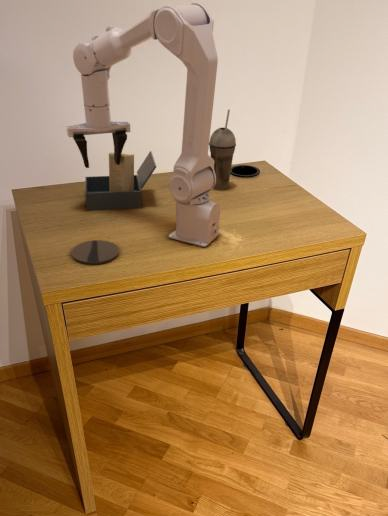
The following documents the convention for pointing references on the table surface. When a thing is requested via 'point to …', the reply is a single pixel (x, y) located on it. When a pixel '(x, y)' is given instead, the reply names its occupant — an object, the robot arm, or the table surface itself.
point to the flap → (146, 169)
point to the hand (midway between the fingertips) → (102, 165)
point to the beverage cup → (222, 154)
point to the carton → (110, 195)
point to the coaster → (95, 252)
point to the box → (121, 173)
